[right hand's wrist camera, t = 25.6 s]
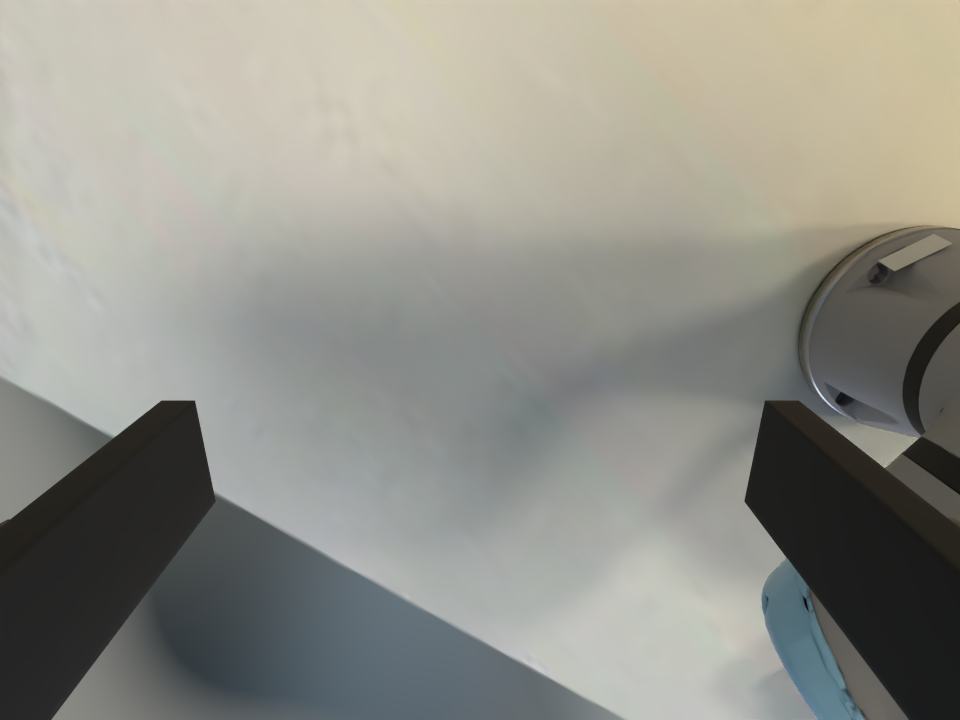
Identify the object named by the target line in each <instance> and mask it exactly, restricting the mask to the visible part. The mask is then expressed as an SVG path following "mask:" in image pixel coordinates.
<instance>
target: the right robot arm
mask: <svg viewBox="0 0 960 720" xmlns="http://www.w3.org/2000/svg"><path fill="white" fill-rule="evenodd" d="M799 357H800V363H801V367H802V371H803V373H804V376H805V378H806V380H807V382H808V384H809V386H810V387H811V388H812V390H813V391H814V392H815V394H816V395H817V396H818V397H819V398H820V399H821V400H823V401H824V402H825V403H826V404H828V405H829V406H830V407H832V408H833V409H835V410H836V411H838V412H839V413H841V414H842V415H844V416H846V417H848V418H850V419H852V420H855V421H857V422H859V423H862V424H865V425H868V426H871V427H875V428H880V429H884V430H888V431H892V432H896V433H900V434H905V435H909V436H913V437H917V438H919V439H918V440H917V441H916V442H914V443H913V444H912V445H911V446H910V447H909V448H908V449H907V450H906V451H904V452H903V453H902V454H901V455H899V456H898V457H897V458H896V459H895V460H894V461H893V462H892V463H890V464H889V465H888V466H887V467H886V468H883V467H882V466H881V465H880V464H878V463H877V462H876V461H875V460H873V459H872V458H871V457H869V456H868V455H867V454H866V453H864V452H863V451H862V450H861V449H859V448H858V447H857V446H855V445H854V444H853V443H852V442H850V441H849V440H848V439H847V438H845V437H844V436H843V435H841V434H840V433H839V432H838V431H836V430H835V429H834V428H833V427H831V426H830V425H829V424H827V423H826V422H825V421H824V420H822V419H821V418H820V417H819V416H817V415H816V414H815V413H814V412H812V411H811V410H810V409H808V408H807V407H806V406H805V405H803V404H802V403H801V402H800V401H765V404H764V409H763V413H762V418H761V423H760V428H759V433H758V438H757V443H756V448H755V452H754V457H753V462H752V467H751V472H750V477H749V482H748V487H747V491H746V496H745V501H744V502H745V503H746V504H747V505H748V507H749V508H750V509H751V511H752V512H753V513H754V515H755V516H756V517H757V519H758V520H759V521H760V523H761V524H762V525H763V527H764V528H765V529H766V531H767V532H768V533H769V535H770V536H771V537H772V539H773V540H774V541H775V543H776V544H777V545H778V547H779V548H780V549H781V551H782V552H783V553H784V555H785V556H786V557H787V558H786V559H785V560H784V561H783V562H782V563H781V564H780V565H779V566H778V567H777V568H776V569H775V570H774V572H773V573H772V574H771V575H770V576H769V577H768V578H767V580H766V582H765V584H764V587H763V591H762V609H763V613H764V616H765V624H766V627H767V630H768V633H769V635H770V638H771V640H772V643H773V645H774V647H775V649H776V651H777V653H778V655H779V657H780V659H781V661H782V663H783V665H784V667H785V669H786V670H787V672H788V674H789V676H790V677H791V679H792V681H793V682H794V684H795V685H796V687H797V689H798V690H799V692H800V693H801V695H802V696H803V698H804V699H805V701H806V702H807V704H808V705H809V707H810V708H811V709H812V711H813V712H814V714H815V715H816V716H817V718H818V719H819V720H960V229H955V228H949V227H943V226H919V227H912V228H907V229H903V230H898V231H895V232H892V233H889V234H887V235H884V236H882V237H880V238H877V239H875V240H873V241H872V242H870V243H868V244H866V245H864V246H863V247H861V248H860V249H858V250H857V251H855V252H854V253H853V254H851V255H850V256H848V257H847V258H846V259H845V260H844V261H843V262H841V263H840V264H839V265H838V266H837V267H836V268H835V269H834V270H833V271H832V272H831V273H830V275H829V276H828V277H827V278H826V279H825V281H824V282H823V283H822V285H821V286H820V287H819V289H818V290H817V292H816V293H815V295H814V297H813V299H812V300H811V302H810V305H809V307H808V309H807V311H806V314H805V316H804V319H803V323H802V327H801V332H800V338H799ZM214 503H215V496H214V491H213V487H212V482H211V477H210V472H209V467H208V462H207V457H206V452H205V448H204V443H203V438H202V433H201V428H200V423H199V418H198V413H197V409H196V404H195V401H160V402H159V403H158V404H157V405H155V406H154V407H153V408H152V409H150V410H149V411H148V412H146V413H145V414H144V415H143V416H141V417H140V418H139V419H138V420H136V421H135V422H134V423H133V424H131V425H130V426H129V427H127V428H126V429H125V430H124V431H122V432H121V433H120V434H119V435H117V436H116V437H115V438H113V439H112V440H111V441H110V442H108V443H107V444H106V445H105V446H103V447H102V448H101V449H99V450H98V451H97V452H96V453H94V454H93V455H92V456H91V457H89V458H88V459H87V460H86V461H84V462H83V463H82V464H80V465H79V466H78V467H77V468H75V469H74V470H73V471H71V472H70V473H69V474H68V475H66V476H65V477H64V478H63V479H61V480H60V481H59V482H57V483H56V484H55V485H54V486H52V487H51V488H50V489H49V490H47V491H46V492H45V493H44V494H42V495H41V496H40V497H38V498H37V499H36V500H35V501H33V502H32V503H31V504H29V505H28V506H27V507H26V508H24V509H23V510H22V511H21V512H19V513H18V514H17V515H16V516H14V517H13V518H12V519H10V520H6V521H4V522H2V523H0V720H51V719H52V718H53V717H54V715H55V714H56V713H57V711H58V710H59V709H60V707H61V706H62V705H63V703H64V702H65V701H66V699H67V698H68V697H69V695H70V694H71V693H72V691H73V690H74V689H75V687H76V686H77V685H78V683H79V682H80V681H81V679H82V678H83V677H84V675H85V674H86V673H87V671H88V670H89V669H90V668H91V666H92V665H93V664H94V662H95V661H96V660H97V658H98V657H99V656H100V654H101V653H102V652H103V650H104V649H105V648H106V646H107V645H108V644H109V642H110V641H111V640H112V638H113V637H114V636H115V634H116V633H117V632H118V630H119V629H120V628H121V626H122V625H123V624H124V622H125V621H126V620H127V618H128V617H129V616H130V614H131V613H132V612H133V610H134V609H135V608H136V606H137V605H138V604H139V602H140V601H141V600H142V598H143V597H144V596H145V594H146V593H147V592H148V590H149V589H150V588H151V586H152V585H153V584H154V583H155V581H156V580H157V579H158V577H159V576H160V575H161V573H162V572H163V571H164V569H165V568H166V567H167V565H168V564H169V563H170V561H171V560H172V559H173V557H174V556H175V555H176V553H177V552H178V551H179V549H180V548H181V547H182V545H183V544H184V543H185V541H186V540H187V539H188V537H189V536H190V535H191V533H192V532H193V531H194V529H195V528H196V527H197V525H198V524H199V523H200V521H201V520H202V519H203V517H204V516H205V515H206V513H207V512H208V511H209V509H210V508H211V507H212V505H213V504H214Z"/></svg>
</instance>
